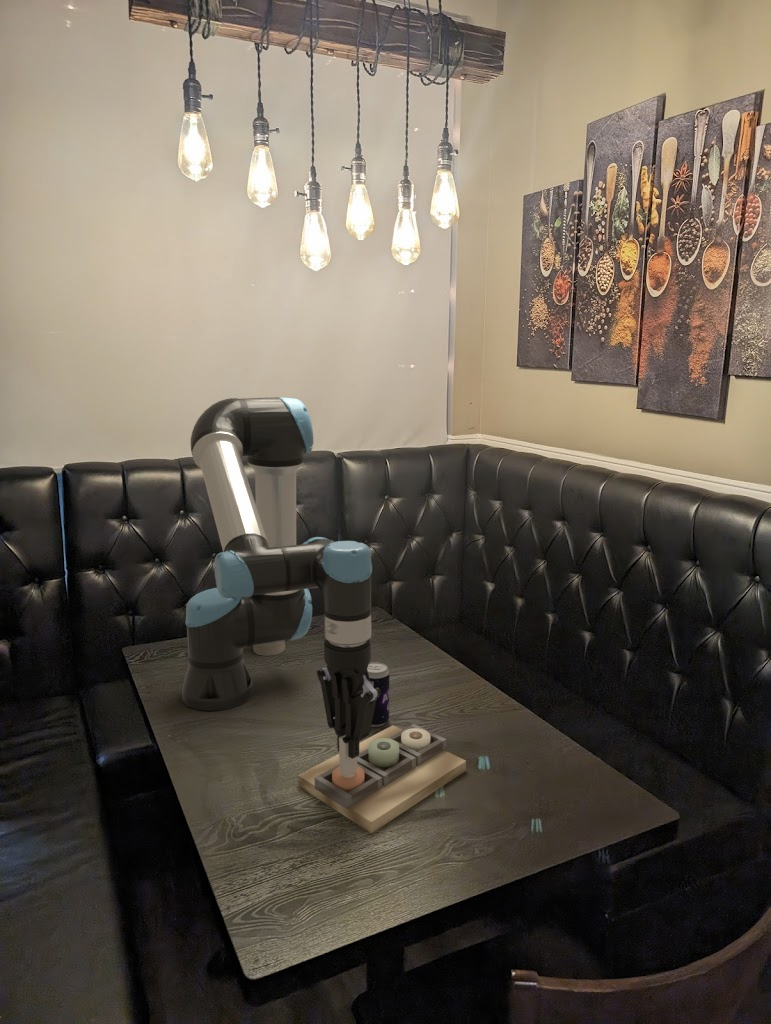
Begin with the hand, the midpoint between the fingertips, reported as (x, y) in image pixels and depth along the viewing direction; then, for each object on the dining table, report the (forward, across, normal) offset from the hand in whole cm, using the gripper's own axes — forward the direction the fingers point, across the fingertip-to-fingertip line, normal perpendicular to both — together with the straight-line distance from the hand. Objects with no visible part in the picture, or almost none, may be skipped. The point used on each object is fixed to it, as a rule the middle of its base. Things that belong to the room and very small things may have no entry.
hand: (348, 771), depth 117 cm
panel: (+5, 0, +8) cm, 10 cm away
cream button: (+3, 0, +17) cm, 17 cm away
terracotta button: (+3, 0, 0) cm, 3 cm away
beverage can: (+5, -15, +22) cm, 27 cm away
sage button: (+2, 0, +8) cm, 9 cm away
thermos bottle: (+5, -60, +28) cm, 67 cm away
